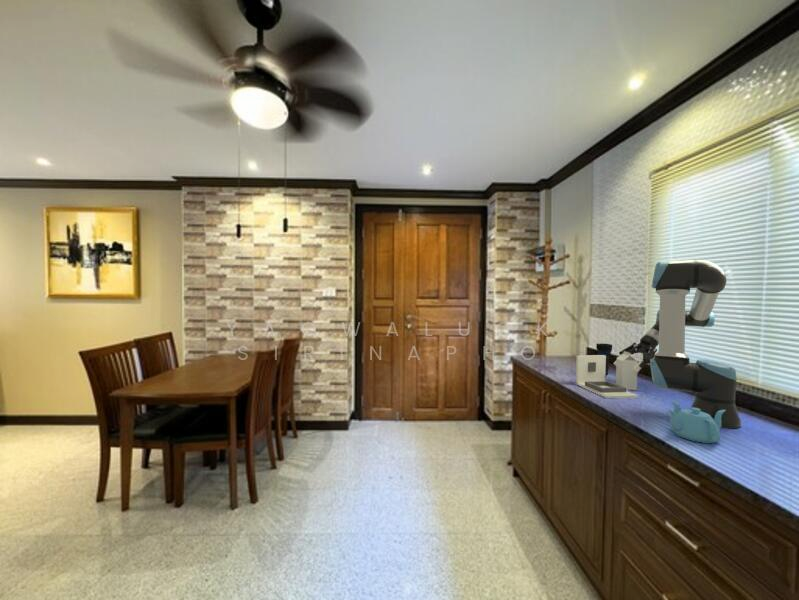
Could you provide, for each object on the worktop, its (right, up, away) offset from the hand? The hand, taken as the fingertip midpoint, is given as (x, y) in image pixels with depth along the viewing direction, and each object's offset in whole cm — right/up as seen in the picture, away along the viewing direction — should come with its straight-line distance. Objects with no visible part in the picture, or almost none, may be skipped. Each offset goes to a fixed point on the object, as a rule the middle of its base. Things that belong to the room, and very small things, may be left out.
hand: (624, 368), depth 183 cm
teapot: (-15, -12, -60) cm, 63 cm away
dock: (-14, -11, -6) cm, 18 cm away
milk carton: (+1, -11, 0) cm, 11 cm away
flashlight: (+1, -10, +20) cm, 23 cm away
